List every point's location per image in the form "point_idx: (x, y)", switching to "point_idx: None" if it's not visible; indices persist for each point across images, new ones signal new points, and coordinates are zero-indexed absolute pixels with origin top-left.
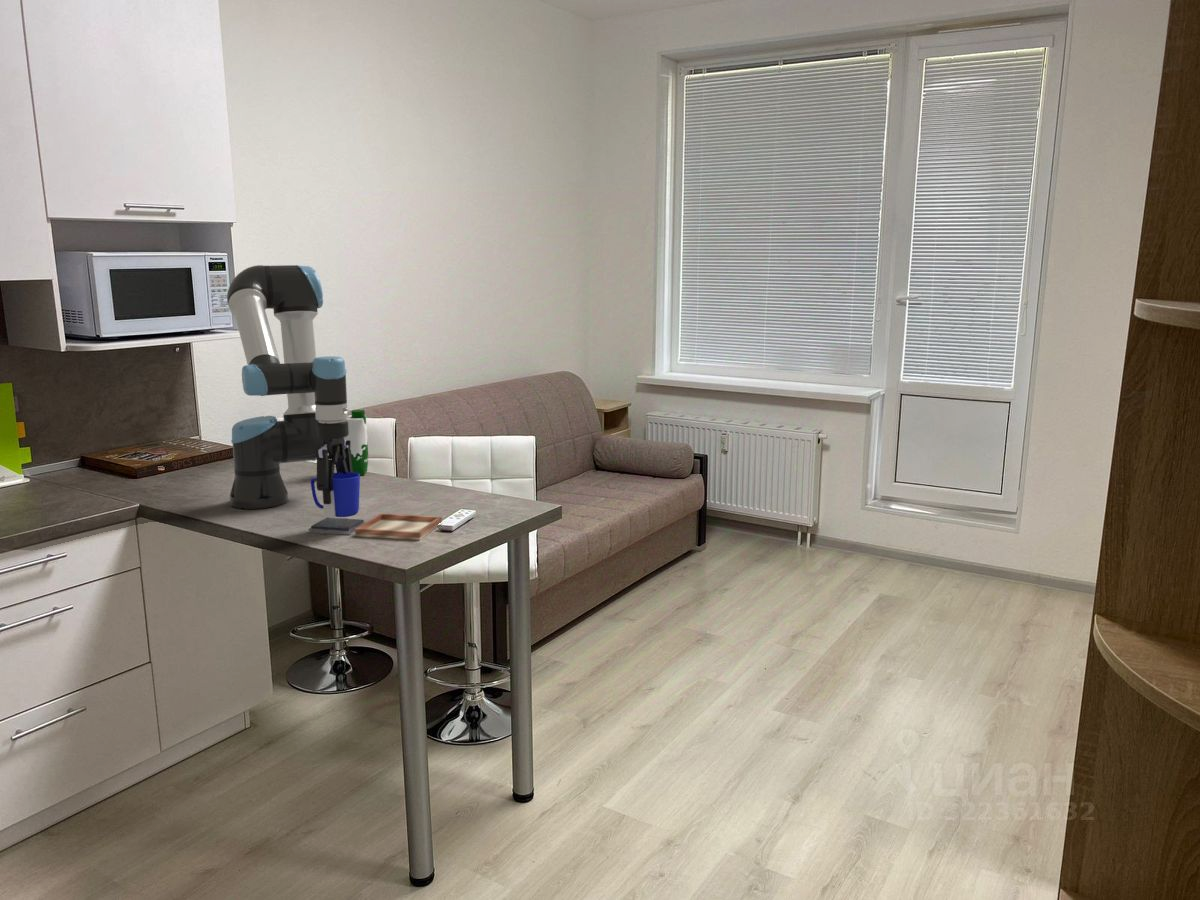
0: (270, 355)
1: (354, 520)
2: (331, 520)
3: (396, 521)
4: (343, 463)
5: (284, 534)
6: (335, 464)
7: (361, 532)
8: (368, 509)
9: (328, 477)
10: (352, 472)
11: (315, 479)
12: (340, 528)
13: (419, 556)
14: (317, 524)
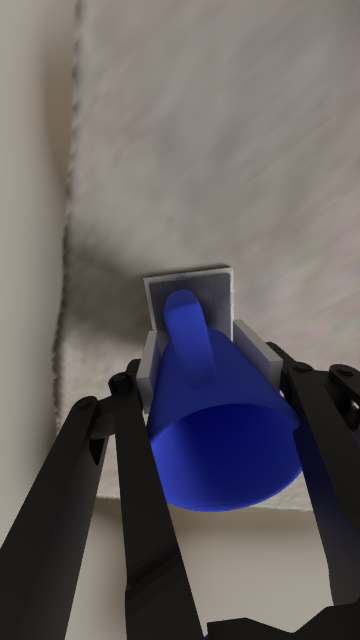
0: None
1: None
2: (208, 301)
3: None
4: (317, 525)
5: (103, 230)
6: (323, 469)
7: None
8: (353, 296)
9: (96, 490)
10: (300, 465)
11: (172, 342)
12: (161, 351)
13: (109, 485)
14: (166, 290)
